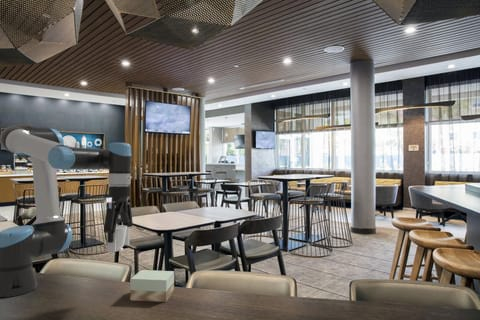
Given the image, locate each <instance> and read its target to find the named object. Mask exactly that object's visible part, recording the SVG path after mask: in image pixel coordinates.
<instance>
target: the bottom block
mask: <svg viewBox="0 0 480 320" xmlns="http://www.w3.org/2000/svg"><path fill="white" fill-rule="evenodd" d="M129 291H130V293H129V294H130V297H129V299H130V300H129V301H136V302H137V301H138V302H141V301H142V302H143V301H145V302H165V303H167V302H168V300H169V299H170V297H171V296H172V294H173V293H174V292H175V282H174V283H173V284H172V285H171V286H170V288H169V289H168V290H167V291H166V292H163V291H139V290H131V289H130V290H129Z"/></svg>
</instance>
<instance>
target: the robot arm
mask: <svg viewBox="0 0 480 320" xmlns="http://www.w3.org/2000/svg"><path fill="white" fill-rule="evenodd" d="M0 146H2V148H4V150H6V151H7V152H10V153H12V154H19V155H20V154H24V155H26V158H27V160H28V161H29V162H30V163H31V167H32V177H33V178H32V179H33V191H34V205H35V217H36V219H35V220H34V222H33V223H32V225H27V224H26V225H24V224H23V225H17V226H12V227H8V228H5V229H3V230H1V231H0V298H10V297H16V296H21V295H23V294H24V295H25V294H27V293H30V292H32V291H35V289H36V288H37V287H38V280H37V278H36V274H35V271H34V268H33V259H35V258H36V259H37V258H39V257H45V256H48V255H55V254H58V253H60V252H64V251H66V250H67V249H68V248H69V247H70V245H71V243H72V239H73V230H72V228H71V226H70V225H69V224H68V223H66V222H65V218H63V217H62V216H61V212H60V211H61V210H60V199H59V188H58V177H57V170H58V169H59V170H64V171H65V170H108V182H107V184H108V185H109V186H108V192H107V193H108V194H107V195H108V197H109V198H111V201H107V202H106V212H105V217H104V218H105V219H104V225H103V233H105V234H107V251H106V252H108V253H115V252H117V251H116V232H115V229H116V226H117V225H118V221H119V217H120V219H121V223H122V224H121V225H123V226H127V231H126V237H125V242H124V246H130V233H131V231H130V228H132V227H133V214H132V206H131V203H132V202H131V201H132V200H131V198H129V199H128V197H130V196H131V190H132V187H131V186H130V185H131V182H132V181H131V180H132V178H133V177H132V176H131V174H132V171H131V170H132V146H131V144H130V143H128V142H111V143H109V144H108V148H102V149H101V148H100V149H99V148H88V147H74V146H73V147H72V146H69V145H66V144H65V142H64V138H63V136H62V133H60V132H59V130H58V129H54V128H50V127H47V126H45V127H43V126H34V125H26V124H13V125H10V126H8V127H6V128H5V129H3V130H2V132H0Z"/></svg>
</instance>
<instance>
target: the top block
mask: <svg viewBox="0 0 480 320" xmlns="http://www.w3.org/2000/svg"><path fill="white" fill-rule="evenodd" d="M173 283H174V284H175V270H174V271H173V270H168V271H167V270H152V269H151V270H149V269H147V270H146V269H141V270H140V271H138V272H137V273H136V274H134V275H133V276H132V277H131V278H130V291H131V290H139V291H163V292H166V291H167V290H168V289H169V288H170V286H171V285H172V284H173Z"/></svg>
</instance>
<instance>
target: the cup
mask: <svg viewBox="0 0 480 320" xmlns="http://www.w3.org/2000/svg"><path fill="white" fill-rule="evenodd" d="M126 231H127V226H123V224H121V225H120V224H117V225H116V229H115V232H116V252H121V251H124V248H123V247H124V246H125V245H124V242H125V237H126Z"/></svg>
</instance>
